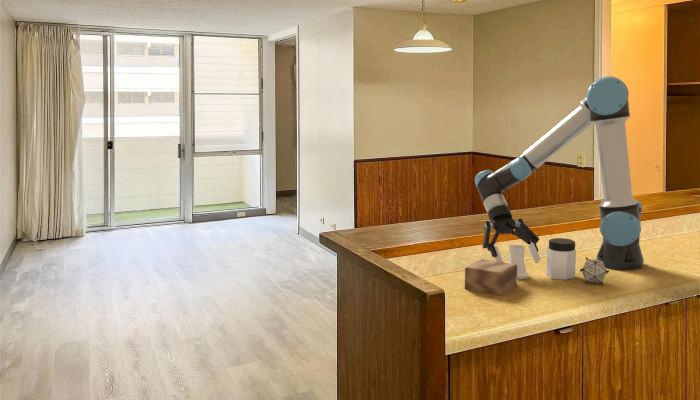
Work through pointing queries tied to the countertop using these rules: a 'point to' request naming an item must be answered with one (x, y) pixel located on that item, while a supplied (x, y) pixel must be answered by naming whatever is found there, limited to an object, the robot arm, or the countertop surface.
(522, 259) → the salt shaker
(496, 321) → the countertop surface
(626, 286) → the countertop surface
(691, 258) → the countertop surface
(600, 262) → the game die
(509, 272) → the walnut box
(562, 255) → the jar
